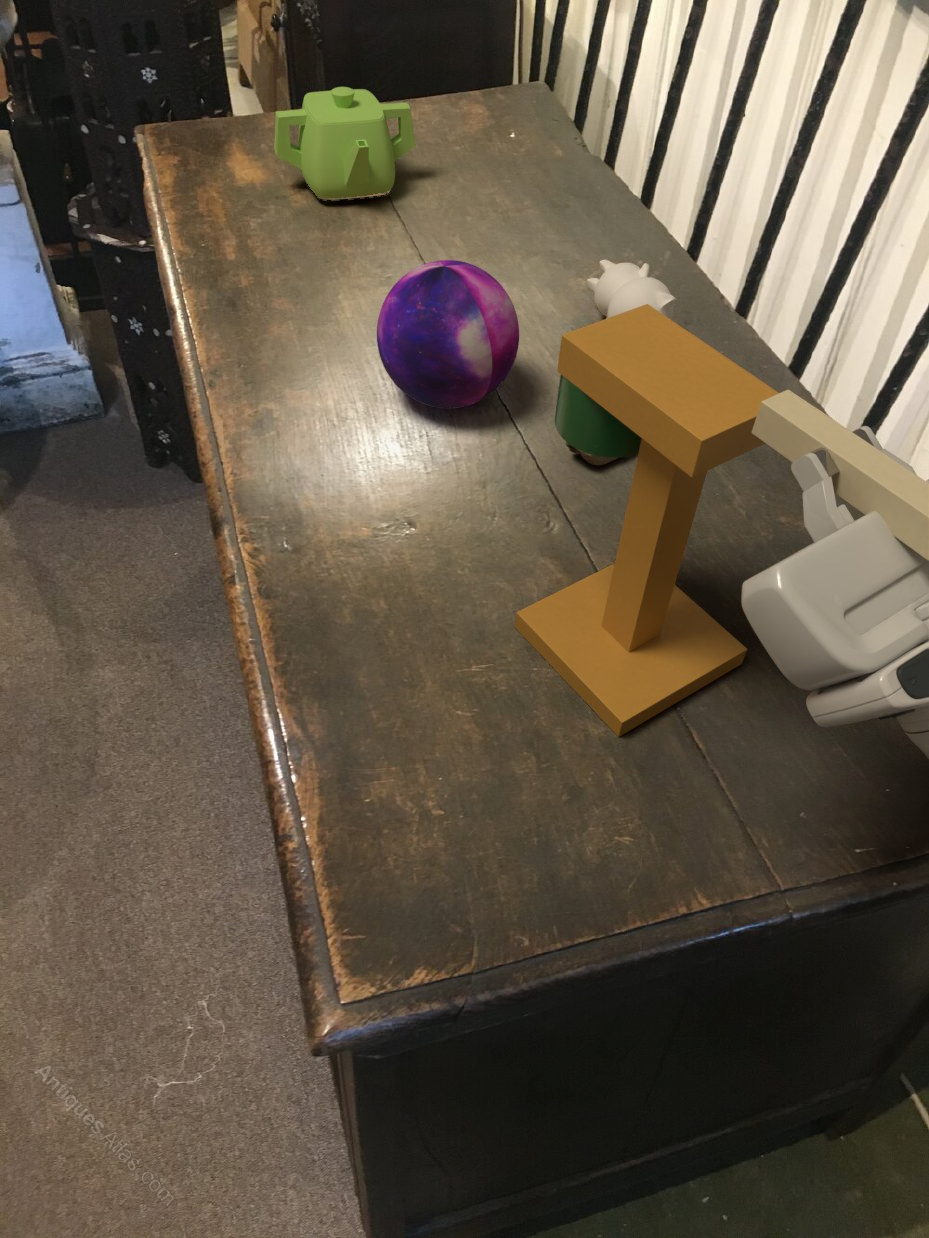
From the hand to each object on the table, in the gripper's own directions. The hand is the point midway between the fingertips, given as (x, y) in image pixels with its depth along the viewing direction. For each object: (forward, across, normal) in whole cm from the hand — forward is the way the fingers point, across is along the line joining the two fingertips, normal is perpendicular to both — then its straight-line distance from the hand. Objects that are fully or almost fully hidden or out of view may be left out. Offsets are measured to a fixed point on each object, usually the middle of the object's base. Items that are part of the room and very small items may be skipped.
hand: (827, 444), depth 57 cm
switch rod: (-4, 0, 0) cm, 4 cm away
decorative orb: (+28, -7, +50) cm, 58 cm away
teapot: (+71, -24, +74) cm, 105 cm away
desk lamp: (-3, 0, +31) cm, 32 cm away
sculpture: (+14, -19, +42) cm, 48 cm away
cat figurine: (+28, -34, +50) cm, 66 cm away
